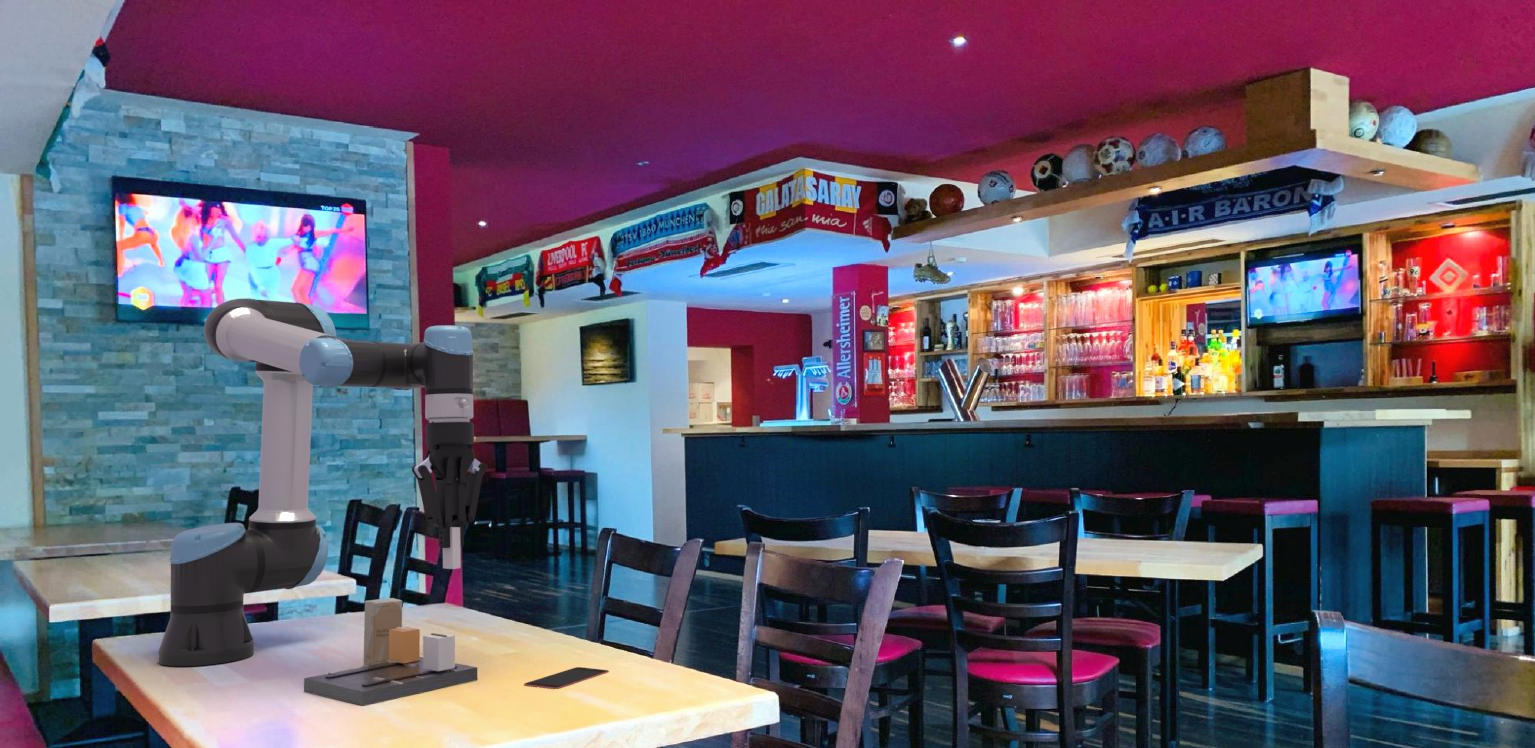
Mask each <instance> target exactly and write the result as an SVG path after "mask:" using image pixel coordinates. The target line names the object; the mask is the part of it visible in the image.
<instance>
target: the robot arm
mask: <svg viewBox="0 0 1535 748" xmlns="http://www.w3.org/2000/svg"><path fill="white" fill-rule="evenodd" d="M203 334H204V335H203V336H204V339H205V341H206V344H207V345H208V347H209V348H210V350H212V352H214V353H215V354H217V355H218V356H220V357H222V358H224V359H227V360H232V361H235V362H244V363H245V362H248V363H255V371H254V372H255V373H256V375H257V376H258V377H259V378H260V379H261V380H262V382H263V393H262V411H261V413H262V414H261V415H262V416H261V435H260V437H261V439H260V441H261V442H260V463H259V483H258V484H259V487H258V507H257V509H256V511H255V512H253V514H251V516H249V518H248V529H246V528H245V525H244V523H243V524H242V523H241V522H226V523H225V522H224V523H219V524H210V525H209V524H208V525H203V526H200V527H195V528H191V529H186V530H184V531H181V532H179V533H178V534H177V535H175V536H174V538H173V539H172V543H171V552H170V557H169V562H170V612H169V613H170V617H169V620H168V623H167V626H166V629H165V632H164V634H163V637H162V640H161V643H160V646H159V649H158V664H159V665H163V666H168V667H195V666H208V665H217V664H218V665H219V664H223V663H230V662H235V661H240V660H242V659H247V658H249V657H251V656H252V655H254V654H255V652H254V650H255V649H254V647H255V646H254V645H255V641H254V638H253V636H252V633H251V630H250V627H249V624H248V622H247V618H246V615H245V613H244V611H245V610H244V594H245V595H246V594H253V593H262V592H267V591H268V592H269V591H275V590H276V591H277V590H284V589H285V590H292V589H295V588H297V587H305V586H308V585H310V584H312V583H313V582H315V581H316V580H317V579H318V577H319V576H320V575H321V574H322V572H323V571H324V569H325V566H326V564H327V560H328V555H329V542H328V538H327V537H326V536H327V534H326V532H325V529H323V527H322V526H321V525H318V524H317V523H316V522H317V517H316V516H315V514H313V512H312V511H311V510H310V509H309V489H310V488H309V487H310V467H311V466H310V463H311V462H310V461H311V441H312V440H311V437H312V417H313V416H312V414H313V413H312V412H313V393H314V391H313V389H314V386H322V387H326V388H336V387H347V388H348V387H349V388H350V387H351V388H353V387H355V388H357V387H358V388H359V387H360V388H383V389H389V390H393V391H409V390H412V389H420V388H425V391H424V392H425V393H424V395H425V397H424V400H425V401H424V402H425V406H424V407H425V408H424V413H425V415H424V416H425V417H424V418H425V419H426V420H427V421H428V423H426V425H425V444H426V447H427V450H426V453H425V455H424V459H425V460H423V461H421V463H419V464H418V465H413V466H412V467H411V472H412V473H413V475H414V477H415V479H416V480H417V484H418V487H419V493H420V497H421V501H422V506H423V511H424V515H425V519H426V523H427V525H432V526H434V527H435V528H437V530H438V546H439V548H441V549H442V569H447V570H456V569H461V568H462V567H461V566H462V565H461V563H462V561H461V559H462V557H461V555H462V554H461V547H463V546H464V545H465V527H468V525H469V523H471V522H474V521H475V519H476V514H477V509H478V504H479V497H480V492H481V487H482V481H483V477H484V475H485V473H486V471H487V469H488V464H487V463H486V462H480V460H478V459H477V458H475V457H476V454H475V452H474V450H473V445H474V443H475V425H474V423H473V422H472V421H471V419H473V418H474V353H475V352H474V349H473V348H474V347H473V338H472V331H471V330H470V329H469V328H468V327H466V326H462V325H433V326H432V325H431V326H428V327H427V328H426V329H425V331H424V337H423V341H422V342H415V343H405V342H404V343H401V342H389V341H388V342H387V341H373V340H372V341H371V340H370V341H369V340H368V341H365V340H356V339H349V338H348V339H347V338H342V337H339V336H337V331H336V327H335V325H334V321H333V320H332V318H331V316H330V315H329V314H328V312H327V311H326V310H324V309H323V308H322V307H320V306H317V305H313V304H308V303H305V302H304V303H303V302H291V301H278V300H267V299H266V300H265V299H255V298H235V299H230V300H227V301H224V302H222V303H220V304H219V305H217V306H216V307H214V308H213V309H212V310H211V311H210V312H209V314H208V315H207V317H206V320H205V321H204V325H203ZM431 473H433V476H434V478H433V476H432V474H431ZM467 473H468V474H467Z"/></svg>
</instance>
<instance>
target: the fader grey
mask: <svg viewBox="0 0 1535 748" xmlns="http://www.w3.org/2000/svg"><path fill="white" fill-rule="evenodd" d="M422 657H423V668H424V669H429V670H434V671H442V670H447V669H452V668H455V663H456V635H454V634H447V633H441V632H438V633H435V632H432V633H430V634H427V635H423V636H422Z"/></svg>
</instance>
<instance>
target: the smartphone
mask: <svg viewBox="0 0 1535 748" xmlns="http://www.w3.org/2000/svg"><path fill="white" fill-rule="evenodd" d="M609 672H610V671H609V670H607V669H600V668H599V669H598V668H590V667H583V666H580V667H579V666H578V667H577V666H576V667H572V668H569V669H566V670H563V671H560V672H557V673H553V674H551V675H546V676H544V677H541V678H540V677H539V678H537V679H534V680H531V681H528V682H525V683H524V684H523V687H524V686H525V687H529V688H530V687H531V688H538V687H539V689H546V690H559V689H563V688H566V687H569V686H572V685H575V684H578V683H581V682H584V681H587V680H590V679H593V678H597V677H599V676H602V675H605V674H607V673H609Z"/></svg>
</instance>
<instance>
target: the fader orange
mask: <svg viewBox="0 0 1535 748" xmlns="http://www.w3.org/2000/svg"><path fill="white" fill-rule="evenodd" d="M420 630H421V629H420V628H414V627H408V626H402V627H397V628H396V629H390V630H389V661H393V662H398V663H409V662H414V661H419V660H420V657H421V656H420V648H421V647H420V641H421V640H420V639H421V638H420V636H421V634H420Z"/></svg>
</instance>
